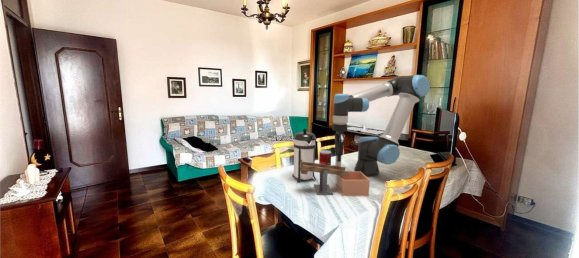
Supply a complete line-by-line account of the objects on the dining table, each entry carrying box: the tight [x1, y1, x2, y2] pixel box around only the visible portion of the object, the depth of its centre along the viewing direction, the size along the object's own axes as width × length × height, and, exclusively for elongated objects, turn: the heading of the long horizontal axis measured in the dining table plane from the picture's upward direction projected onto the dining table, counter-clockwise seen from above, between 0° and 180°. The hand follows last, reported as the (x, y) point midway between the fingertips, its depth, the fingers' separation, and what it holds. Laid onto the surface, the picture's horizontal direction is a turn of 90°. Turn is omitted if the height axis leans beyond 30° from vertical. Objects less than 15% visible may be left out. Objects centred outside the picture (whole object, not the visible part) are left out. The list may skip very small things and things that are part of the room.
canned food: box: [318, 149, 332, 165], centre depth 161 cm, size 8×8×11 cm
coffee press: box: [291, 127, 317, 183], centre depth 139 cm, size 17×16×30 cm
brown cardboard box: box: [335, 170, 371, 197], centre depth 124 cm, size 13×13×8 cm
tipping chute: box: [300, 159, 350, 176], centre depth 125 cm, size 24×13×6 cm, turn 92°
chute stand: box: [313, 170, 334, 196], centre depth 123 cm, size 8×11×13 cm
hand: (338, 166), depth 129 cm, fingers closed
